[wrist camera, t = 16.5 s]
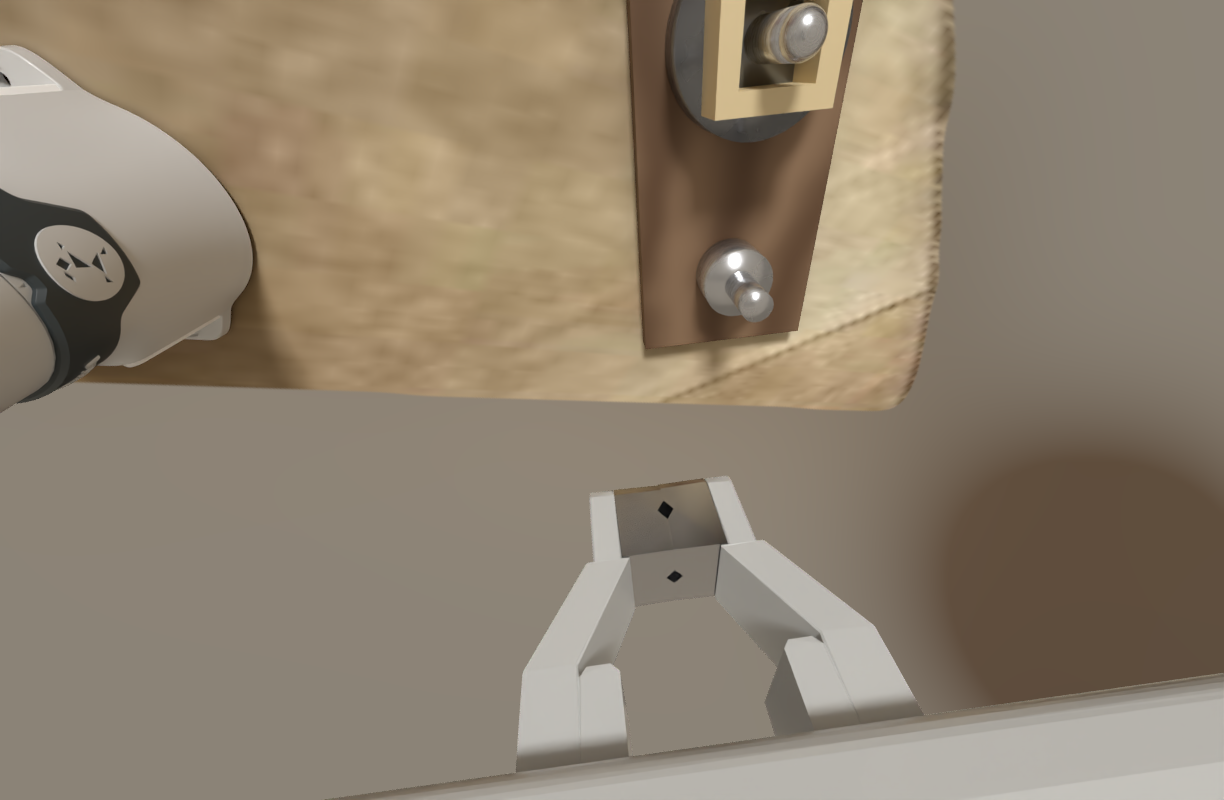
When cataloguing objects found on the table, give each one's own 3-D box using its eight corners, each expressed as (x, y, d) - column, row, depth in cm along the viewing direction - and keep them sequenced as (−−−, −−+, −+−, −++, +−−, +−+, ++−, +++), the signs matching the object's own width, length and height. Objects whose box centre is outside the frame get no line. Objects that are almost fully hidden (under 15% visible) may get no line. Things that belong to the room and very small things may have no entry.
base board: (643, 340, 41) (645, 349, 39) (621, -110, 24) (624, -119, 22) (790, 322, 41) (797, 330, 40) (875, -136, 24) (891, -147, 23)
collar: (701, 116, 26) (715, 120, 24) (706, -37, 22) (723, -50, 20) (808, 104, 26) (832, 107, 24) (832, -50, 22) (864, -64, 20)
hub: (665, 144, 30) (699, 168, 22) (663, -67, 24) (708, -127, 16) (809, 128, 30) (888, 147, 23) (844, -86, 24) (967, -153, 17)
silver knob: (694, 303, 37) (718, 344, 32) (697, 242, 34) (723, 276, 28) (755, 296, 37) (788, 336, 32) (762, 234, 34) (801, 266, 29)
